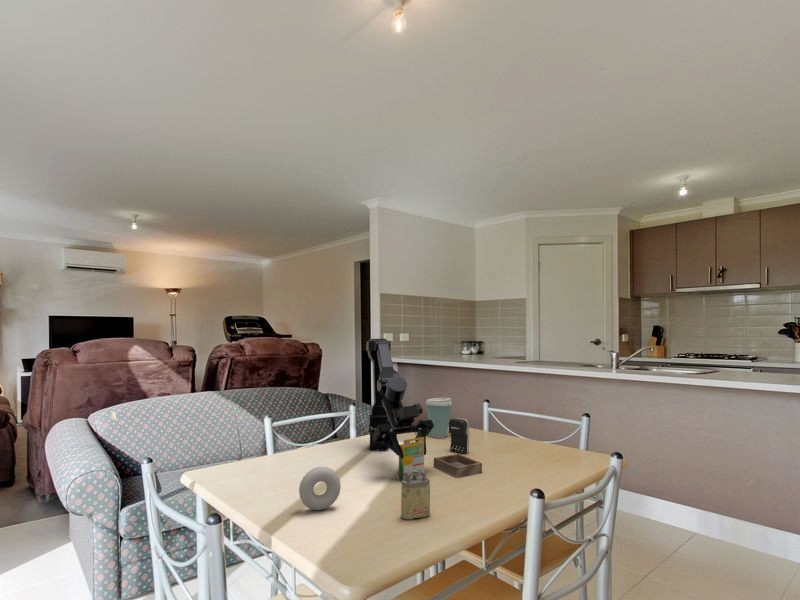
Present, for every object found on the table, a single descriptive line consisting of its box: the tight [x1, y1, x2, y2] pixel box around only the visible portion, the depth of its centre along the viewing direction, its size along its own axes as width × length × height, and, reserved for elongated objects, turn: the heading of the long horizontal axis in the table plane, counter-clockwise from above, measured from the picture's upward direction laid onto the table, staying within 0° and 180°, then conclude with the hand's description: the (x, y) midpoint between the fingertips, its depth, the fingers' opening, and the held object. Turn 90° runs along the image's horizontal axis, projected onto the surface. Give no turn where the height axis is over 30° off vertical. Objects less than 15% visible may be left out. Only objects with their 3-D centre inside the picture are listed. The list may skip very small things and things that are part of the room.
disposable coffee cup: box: [425, 397, 453, 439], centre depth 184 cm, size 11×11×15 cm
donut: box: [298, 466, 342, 511], centre depth 110 cm, size 10×3×10 cm, turn 113°
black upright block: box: [448, 417, 470, 454], centre depth 161 cm, size 7×4×11 cm, turn 47°
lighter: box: [400, 470, 431, 520], centre depth 107 cm, size 7×4×10 cm, turn 112°
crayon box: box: [398, 437, 425, 482], centre depth 133 cm, size 7×3×12 cm, turn 123°
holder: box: [433, 453, 483, 479], centre depth 141 cm, size 10×12×3 cm
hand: (414, 456), depth 132 cm, fingers closed on crayon box, 7 cm apart
